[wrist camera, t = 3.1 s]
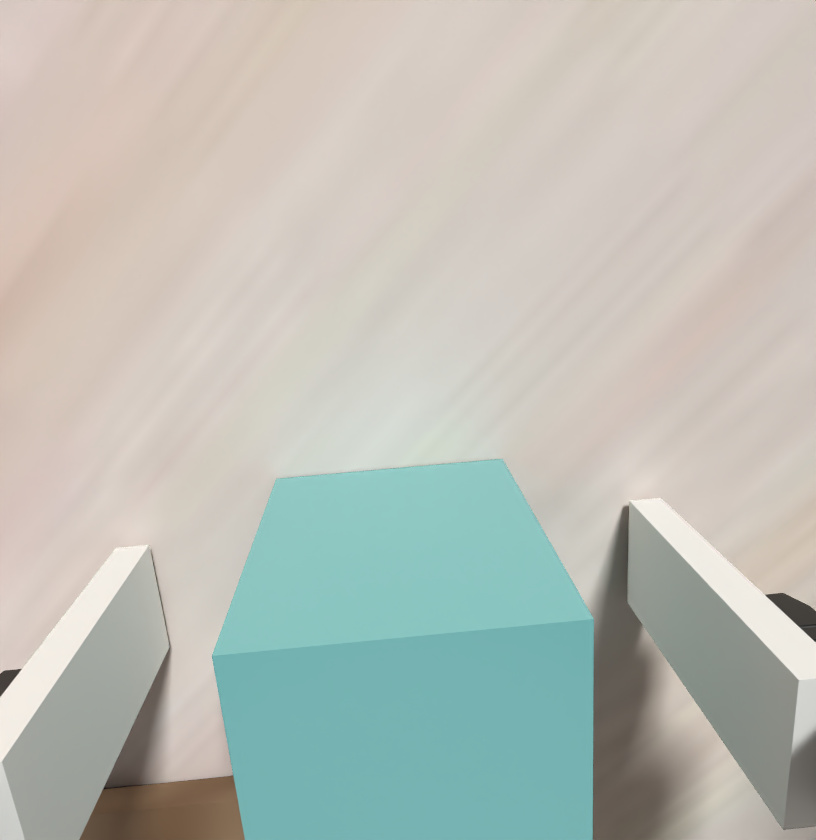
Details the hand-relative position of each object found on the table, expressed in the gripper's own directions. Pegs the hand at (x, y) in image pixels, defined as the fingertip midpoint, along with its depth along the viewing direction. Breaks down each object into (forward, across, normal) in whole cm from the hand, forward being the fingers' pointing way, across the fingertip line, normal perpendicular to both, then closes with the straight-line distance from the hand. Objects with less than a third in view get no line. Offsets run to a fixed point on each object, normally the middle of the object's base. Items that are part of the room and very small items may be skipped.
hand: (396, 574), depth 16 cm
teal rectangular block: (0, 0, 0) cm, 0 cm away
